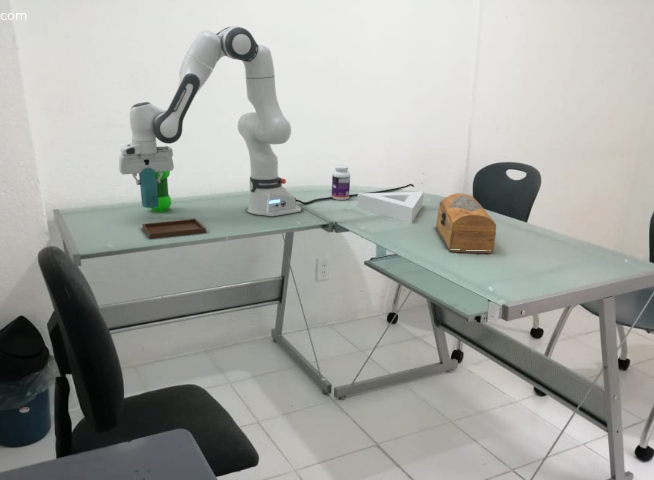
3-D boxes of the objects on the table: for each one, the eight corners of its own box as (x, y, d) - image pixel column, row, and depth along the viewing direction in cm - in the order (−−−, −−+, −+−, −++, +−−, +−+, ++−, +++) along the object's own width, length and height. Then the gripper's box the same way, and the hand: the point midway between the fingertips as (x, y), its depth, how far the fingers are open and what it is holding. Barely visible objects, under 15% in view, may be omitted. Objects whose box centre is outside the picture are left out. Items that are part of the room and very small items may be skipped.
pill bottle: (330, 196, 277) (331, 164, 271) (347, 196, 277) (348, 164, 272) (332, 200, 269) (334, 168, 264) (350, 200, 270) (352, 168, 264)
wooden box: (433, 227, 234) (437, 192, 228) (476, 229, 233) (481, 193, 227) (444, 252, 206) (449, 213, 201) (493, 254, 206) (499, 214, 200)
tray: (195, 223, 233) (195, 218, 232) (205, 232, 222) (205, 228, 221) (142, 228, 225) (142, 223, 224) (149, 238, 214) (149, 234, 213)
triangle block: (356, 208, 259) (357, 193, 257) (396, 199, 275) (397, 185, 273) (411, 223, 239) (412, 208, 236) (450, 213, 255) (452, 198, 252)
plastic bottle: (162, 205, 255) (157, 145, 245) (177, 210, 249) (173, 149, 239) (142, 210, 248) (136, 148, 238) (157, 215, 242) (152, 152, 232)
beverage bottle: (155, 212, 233) (150, 160, 225) (139, 211, 235) (133, 159, 227) (162, 207, 239) (157, 157, 231) (146, 206, 241) (141, 156, 232)
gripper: (170, 144, 234) (173, 179, 239) (116, 147, 226) (120, 184, 232) (174, 147, 229) (176, 183, 234) (118, 150, 221) (123, 188, 226)
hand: (148, 183), depth 233 cm, fingers closed on beverage bottle, 6 cm apart
